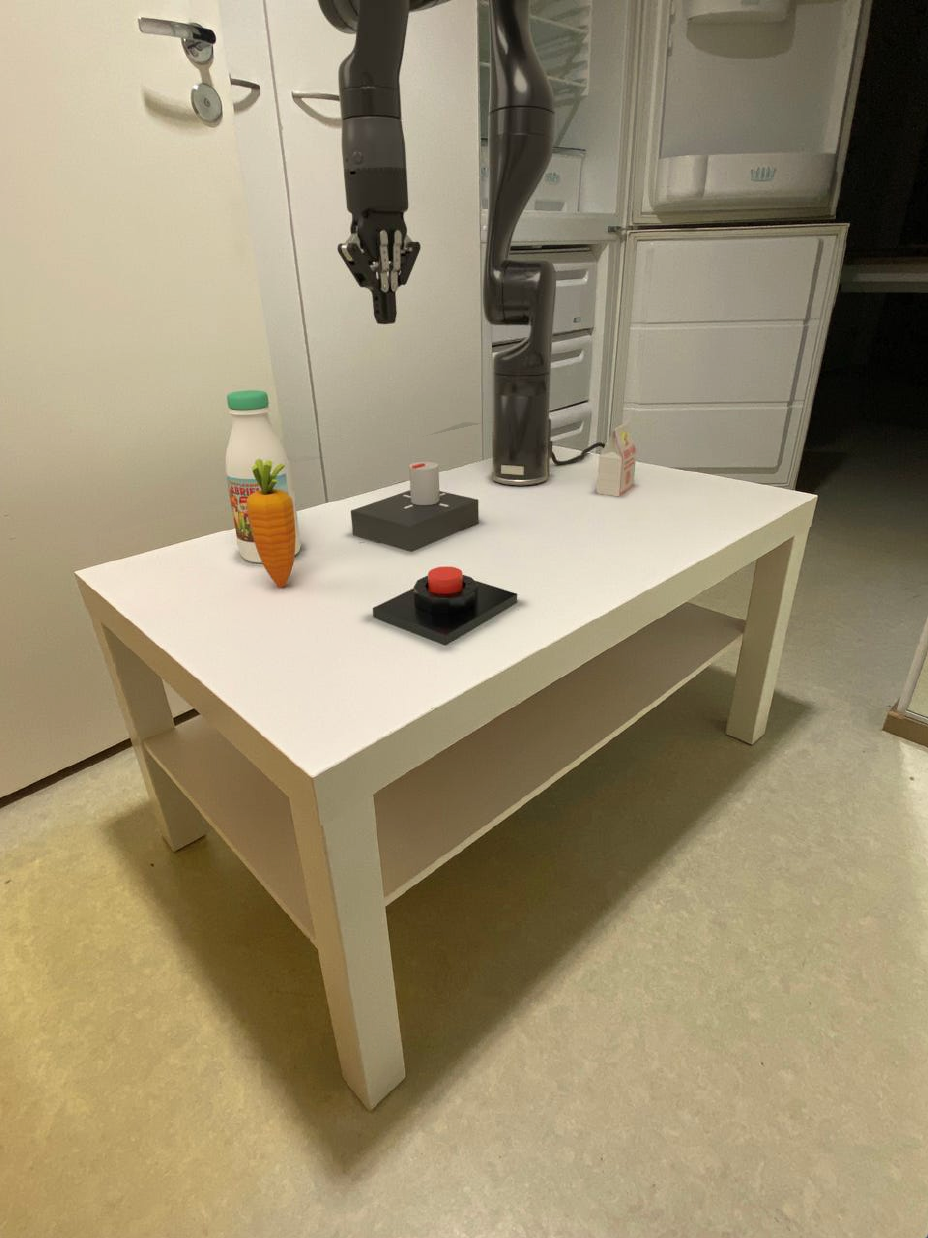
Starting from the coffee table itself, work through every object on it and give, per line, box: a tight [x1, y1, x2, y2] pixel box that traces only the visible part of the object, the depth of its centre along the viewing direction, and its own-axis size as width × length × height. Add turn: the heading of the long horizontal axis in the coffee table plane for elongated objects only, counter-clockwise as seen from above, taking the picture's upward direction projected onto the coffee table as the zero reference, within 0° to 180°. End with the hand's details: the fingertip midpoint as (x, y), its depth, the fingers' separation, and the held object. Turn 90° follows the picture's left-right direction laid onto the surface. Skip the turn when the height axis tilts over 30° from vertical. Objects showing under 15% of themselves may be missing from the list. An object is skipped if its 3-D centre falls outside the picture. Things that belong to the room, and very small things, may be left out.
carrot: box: [246, 459, 296, 589], centre depth 77 cm, size 5×5×15 cm
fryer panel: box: [350, 489, 480, 553], centre depth 97 cm, size 14×11×4 cm
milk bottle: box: [225, 389, 301, 564], centre depth 86 cm, size 8×8×20 cm
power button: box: [427, 566, 464, 594], centre depth 73 cm, size 4×4×2 cm
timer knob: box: [408, 461, 440, 505], centre depth 96 cm, size 4×4×5 cm
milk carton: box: [596, 422, 638, 497], centre depth 111 cm, size 4×7×10 cm, turn 149°
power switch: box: [372, 574, 518, 646], centre depth 74 cm, size 12×10×3 cm
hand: (385, 323), depth 92 cm, fingers closed
